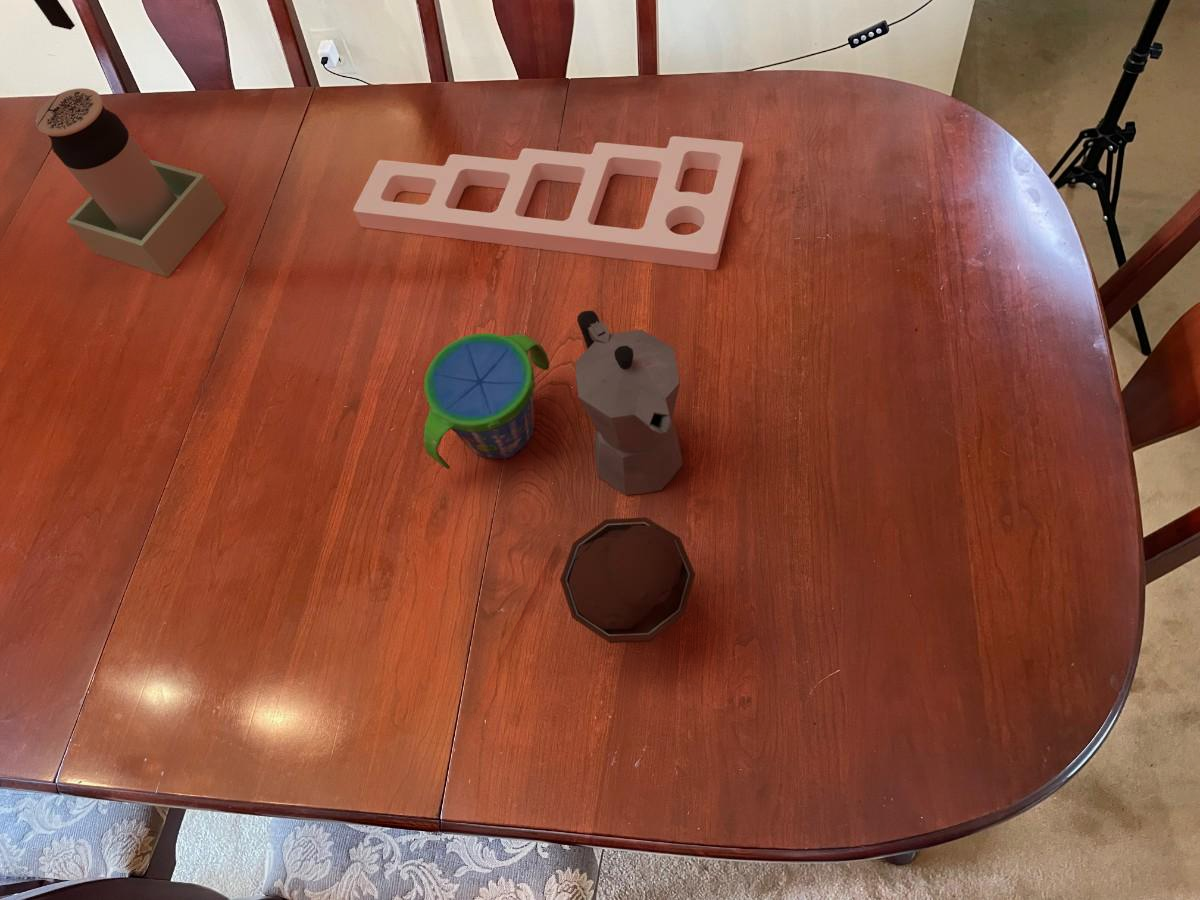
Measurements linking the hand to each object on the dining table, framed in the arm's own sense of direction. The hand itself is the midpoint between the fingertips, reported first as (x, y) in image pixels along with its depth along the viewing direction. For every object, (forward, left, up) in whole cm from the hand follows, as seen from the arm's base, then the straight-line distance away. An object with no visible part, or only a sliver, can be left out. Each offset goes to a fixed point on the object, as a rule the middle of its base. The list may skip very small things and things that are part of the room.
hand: (20, 65), depth 88 cm
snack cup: (+57, -11, -25) cm, 63 cm away
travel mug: (+1, +1, -24) cm, 24 cm away
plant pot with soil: (+78, -24, -25) cm, 85 cm away
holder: (+47, +22, -25) cm, 58 cm away
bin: (+1, +1, -25) cm, 25 cm away
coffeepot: (+71, -8, -25) cm, 76 cm away
